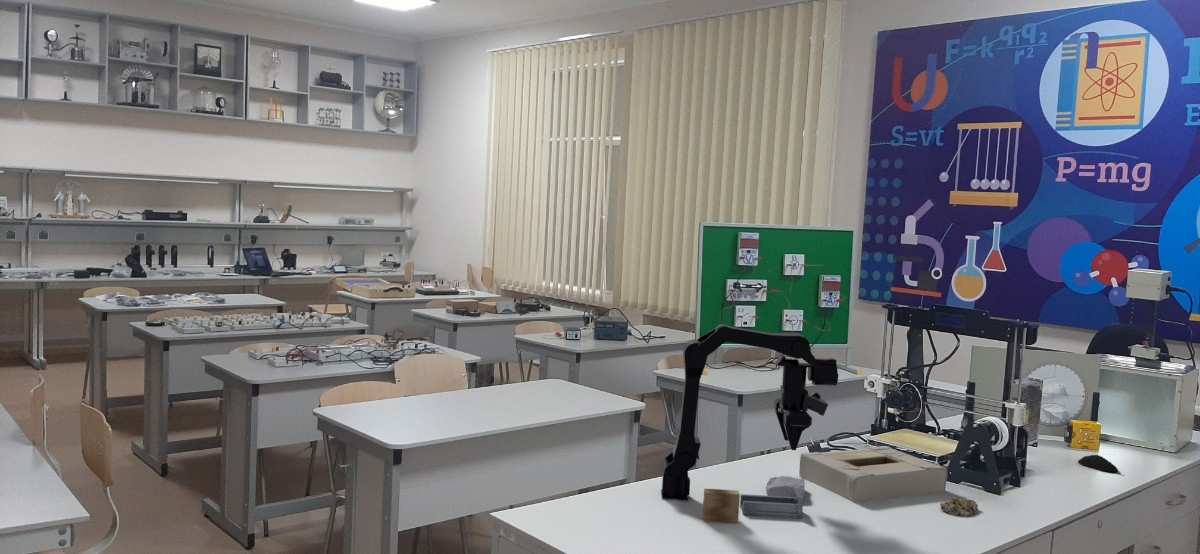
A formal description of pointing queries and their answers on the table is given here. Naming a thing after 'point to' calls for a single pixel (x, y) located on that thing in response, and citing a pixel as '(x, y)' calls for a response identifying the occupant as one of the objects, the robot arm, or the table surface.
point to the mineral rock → (959, 507)
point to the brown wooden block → (721, 506)
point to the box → (872, 473)
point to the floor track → (772, 505)
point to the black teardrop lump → (1098, 464)
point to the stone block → (784, 486)
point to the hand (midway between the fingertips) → (790, 445)
